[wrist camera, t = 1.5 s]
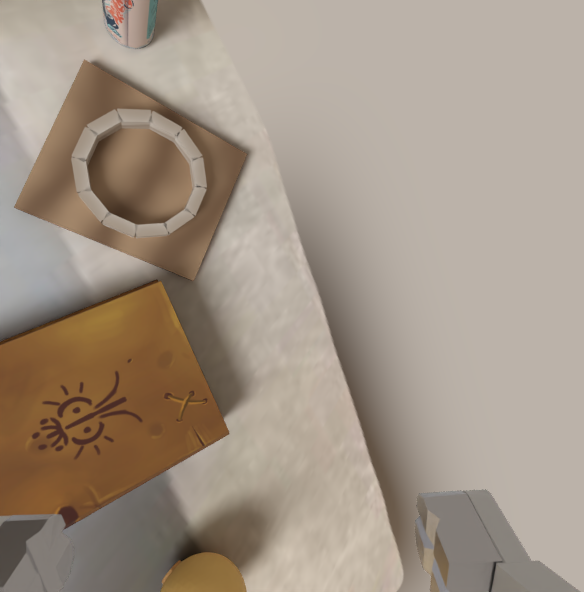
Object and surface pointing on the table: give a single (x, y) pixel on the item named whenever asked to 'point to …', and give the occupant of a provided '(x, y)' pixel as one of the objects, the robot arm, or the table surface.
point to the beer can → (130, 21)
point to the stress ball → (204, 575)
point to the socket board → (132, 174)
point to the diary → (99, 405)
